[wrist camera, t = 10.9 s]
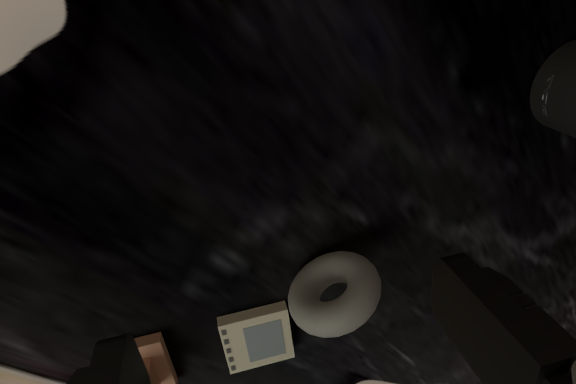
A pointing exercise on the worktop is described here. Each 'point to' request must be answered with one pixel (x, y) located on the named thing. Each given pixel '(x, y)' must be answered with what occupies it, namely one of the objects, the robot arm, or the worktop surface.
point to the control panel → (256, 336)
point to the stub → (156, 359)
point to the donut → (346, 308)
